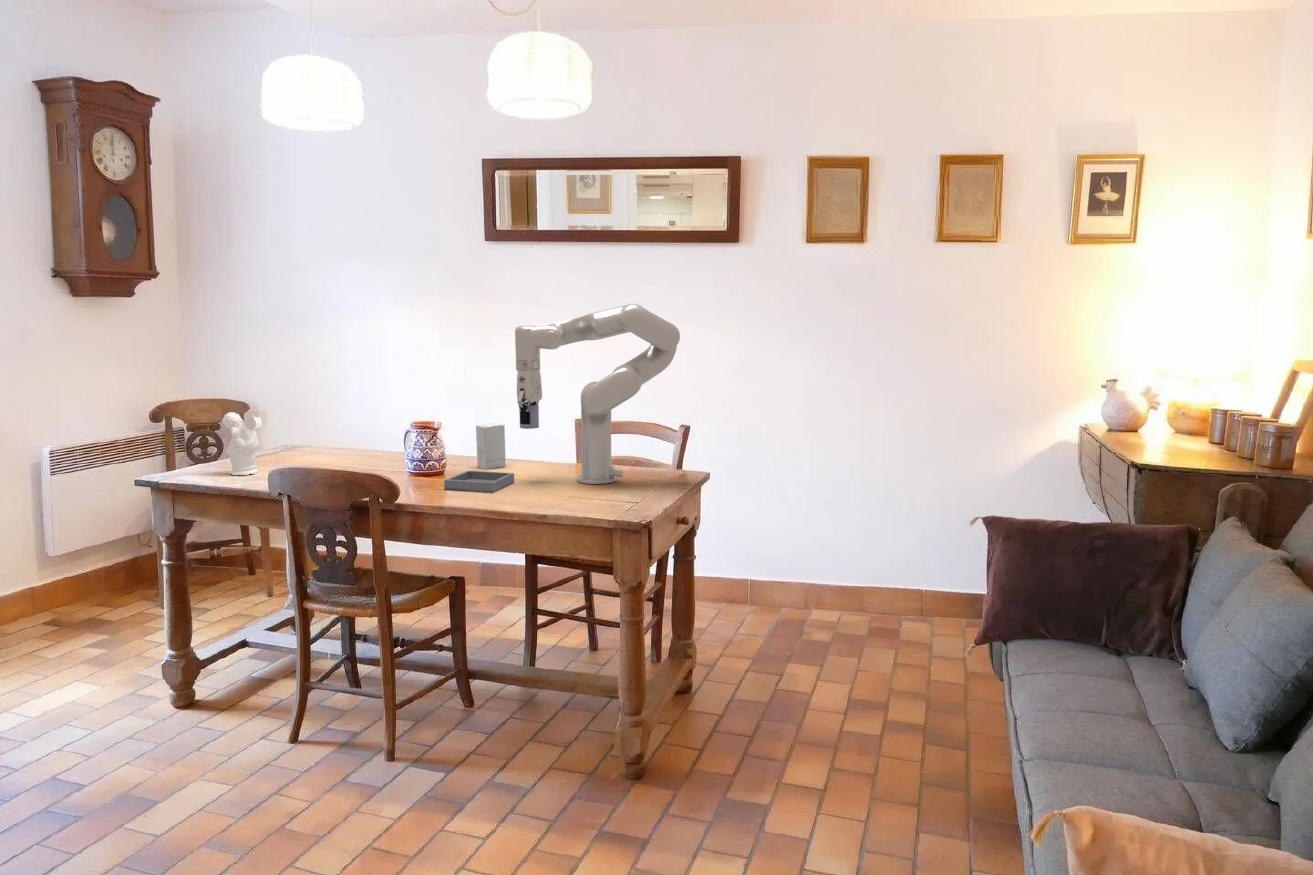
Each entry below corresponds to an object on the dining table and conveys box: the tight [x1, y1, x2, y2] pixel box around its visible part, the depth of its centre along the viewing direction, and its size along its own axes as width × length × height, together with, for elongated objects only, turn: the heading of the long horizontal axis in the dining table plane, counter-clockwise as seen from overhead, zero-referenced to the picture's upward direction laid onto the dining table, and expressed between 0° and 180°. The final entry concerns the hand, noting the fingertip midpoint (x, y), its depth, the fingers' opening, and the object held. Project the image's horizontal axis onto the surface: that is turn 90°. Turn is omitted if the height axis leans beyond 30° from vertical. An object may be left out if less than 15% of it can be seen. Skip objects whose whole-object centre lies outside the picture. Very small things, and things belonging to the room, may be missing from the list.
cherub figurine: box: [222, 408, 263, 476], centre depth 319 cm, size 12×12×22 cm
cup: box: [518, 404, 540, 430], centre depth 305 cm, size 6×6×7 cm
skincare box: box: [475, 422, 507, 470], centre depth 331 cm, size 8×6×15 cm
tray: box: [443, 470, 515, 494], centre depth 301 cm, size 16×16×3 cm
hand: (529, 422), depth 306 cm, fingers closed on cup, 6 cm apart
